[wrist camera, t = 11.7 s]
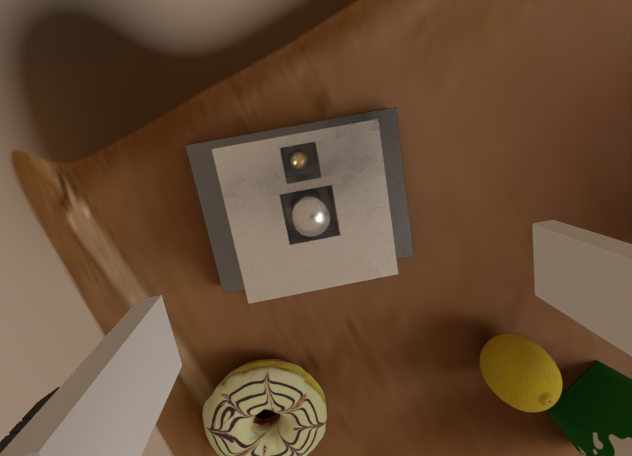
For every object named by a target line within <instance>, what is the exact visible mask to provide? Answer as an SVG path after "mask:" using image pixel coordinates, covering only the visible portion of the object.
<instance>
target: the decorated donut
mask: <svg viewBox="0 0 632 456" xmlns="http://www.w3.org/2000/svg"><path fill="white" fill-rule="evenodd" d="M264 409H268V410H272V411H273V412H275V413H276V414H275V415H273V416H271V417H269V418H265V419H260V418H258V417H256V416H255V415H257V414H258V413H260V412H261V411H262V410H264ZM326 420H327V412H326V401H325V396H324V393H323V390H322V389H321V387H320V385H319V384H318V383H317V382H316V381H315V380H314V379H313V378H312V376H311V375H310V374H309V373H307V372H306V371H304V370H303V369H302V368H301V367H300V366H298V365H296V364H294V363H291V362H287V361H284V360H280V359H263V360H255V361H251V362H249V363H246V364H244V365H242V366H240V367H239V368H237V369H235V370H233V371H231V372H230V373H229V374H227V375H226V376H225V378H224V379H223V380H222V381H221V382H220V383H219V385H218V386H217V387H216V388H215V390H214V393H213V394H212V395H211V396H210V397H209V399H207V400H206V402H205V404H204V407H203V421H204V428H205V431H206V436H207V438H208V440H209V442H210V444H211V446H212V447H213V448H214V450H215V451H216V452H217V454H218V455H219V456H307V455H308V453H309V452H311V451H312V450H313V449H314V448H315V447H316V446H317V444H318V443H319V441H320V440H321V439H322V437H323V435H324V432H325V426H326Z"/></svg>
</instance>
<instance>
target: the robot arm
mask: <svg viewBox="0 0 632 456" xmlns="http://www.w3.org/2000/svg"><path fill="white" fill-rule="evenodd" d="M532 226H533V254H534V283H535V295H536V296H537V297H539V298H540V299H542V300H543V301H545V302H547V303H548V304H550V305H551V306H553V307H554V308H556V309H558V310H559V311H561V312H562V313H564V314H565V315H567V316H569V317H570V318H572V319H573V320H575V321H576V322H578V323H580V324H581V325H583V326H584V327H586V328H587V329H589V330H591V331H592V332H594V333H595V334H597V335H598V336H600V337H602V338H603V339H605V340H606V341H608V342H609V343H611V344H613V345H614V346H616V347H617V348H619V349H620V350H622V351H624V352H625V353H627V354H628V355H630V356H631V357H632V244H630V243H627V242H624V241H620V240H617V239H614V238H611V237H607V236H604V235H601V234H598V233H595V232H591V231H588V230H585V229H582V228H579V227H575V226H572V225H569V224H566V223H562V222H559V221H556V220H549V221H544V222H539V223H533V224H532ZM181 367H182V363H181V359H180V356H179V353H178V349H177V346H176V343H175V339H174V336H173V333H172V329H171V326H170V323H169V319H168V316H167V313H166V309H165V306H164V303H163V299H162V296H161V295H160V296H155V297H150V298H145V299H139V300H138V301H137V302H136V303H135V304H134V306H133V307H132V308H131V309H130V310H129V311H128V312H127V313H126V314H125V316H124V317H123V318H122V319H121V320H120V321H119V322H118V323H117V324H116V326H115V327H114V328H113V329H112V330H111V331H110V332H109V333H108V334H107V336H106V337H105V338H104V339H103V340H102V341H101V342H100V343H99V345H98V346H97V347H96V348H95V349H94V350H93V351H92V352H91V353H90V354H89V356H88V357H87V358H86V359H85V360H84V361H83V362H82V363H81V364H80V366H79V367H78V368H77V369H76V370H75V371H74V372H73V373H72V374H71V376H70V377H69V378H68V379H67V380H66V381H65V382H64V384H63V385H62V386H61V387H58V388H56V389H55V390H54V391H52V392H51V393H50V394H48V395H47V396H45V397H44V398H43V399H41V400H40V401H39V402H38V403H36V404H35V406H34V407H33V408H32V409H31V410H30V411H29V412H28V413H27V414H26V415H25V416H24V417H23V418H22V421H21V422H19V423H18V424H17V425H16V426H15V427H14V428H13V429H12V430H11V431H10V434H9V435H8V436H6V437H5V438H4V439H3V440H2V441H1V442H0V456H141V455H142V453H143V451H144V449H145V446H146V444H147V442H148V440H149V438H150V436H151V433H152V431H153V429H154V427H155V424H156V422H157V420H158V418H159V416H160V413H161V411H162V409H163V407H164V405H165V402H166V400H167V398H168V396H169V394H170V391H171V389H172V387H173V385H174V383H175V380H176V378H177V376H178V374H179V371H180V369H181Z"/></svg>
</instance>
